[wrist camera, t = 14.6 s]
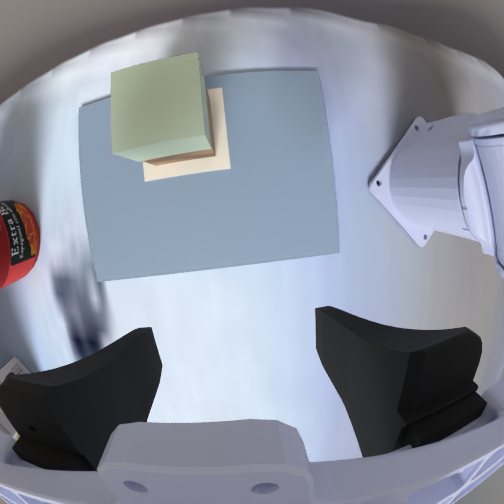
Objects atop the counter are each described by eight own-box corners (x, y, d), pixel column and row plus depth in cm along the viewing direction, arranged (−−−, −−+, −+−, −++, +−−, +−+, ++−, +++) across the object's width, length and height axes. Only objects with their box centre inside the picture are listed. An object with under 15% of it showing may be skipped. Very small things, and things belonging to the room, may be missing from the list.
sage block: (204, 81, 14) (197, 52, 10) (211, 148, 15) (204, 134, 11) (135, 95, 14) (111, 72, 10) (138, 161, 15) (112, 153, 11)
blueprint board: (316, 72, 19) (318, 70, 18) (337, 251, 22) (339, 253, 21) (81, 109, 18) (78, 107, 17) (99, 280, 21) (96, 282, 20)
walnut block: (209, 100, 18) (204, 79, 14) (215, 156, 19) (211, 146, 15) (151, 110, 18) (135, 93, 14) (155, 165, 19) (138, 159, 15)
